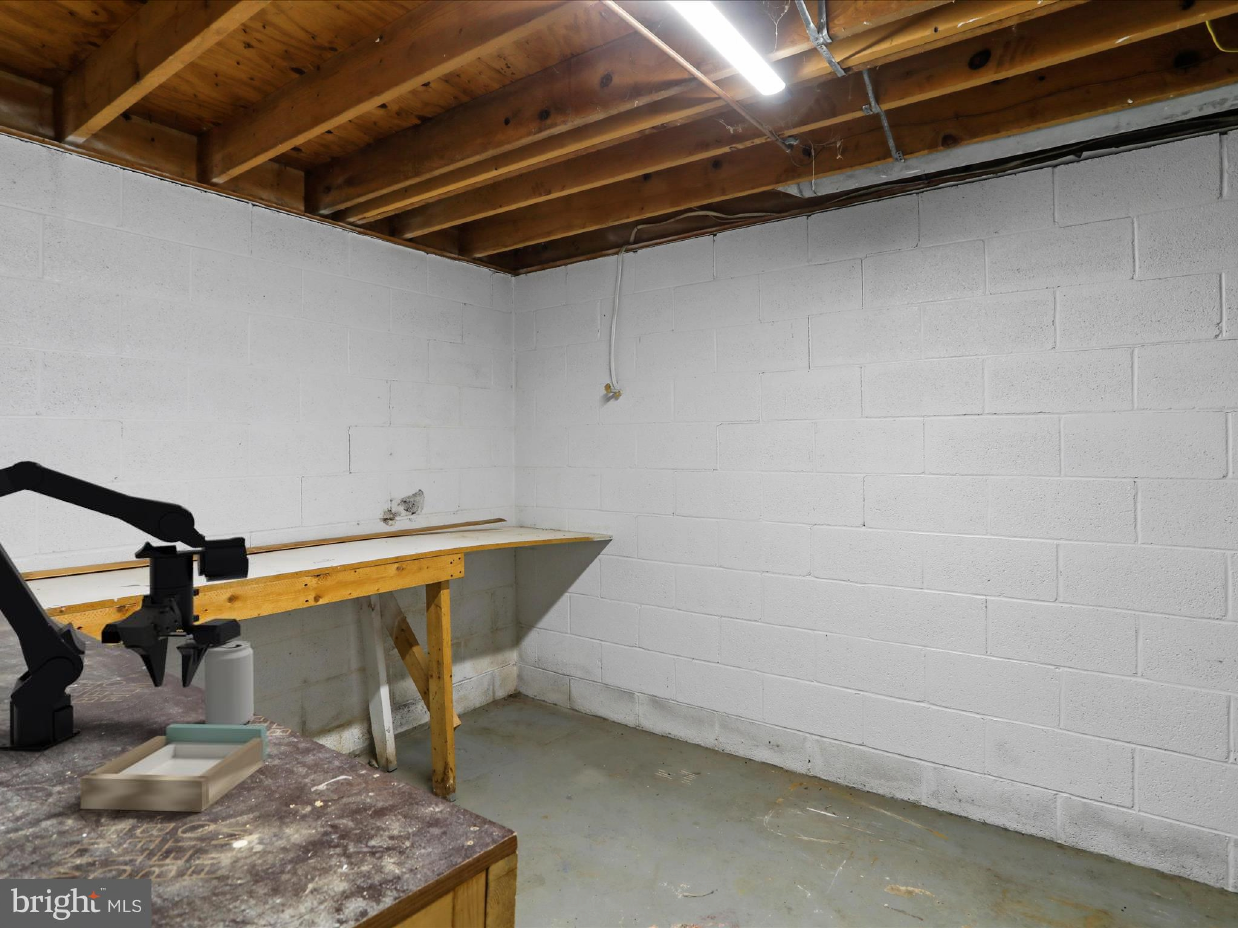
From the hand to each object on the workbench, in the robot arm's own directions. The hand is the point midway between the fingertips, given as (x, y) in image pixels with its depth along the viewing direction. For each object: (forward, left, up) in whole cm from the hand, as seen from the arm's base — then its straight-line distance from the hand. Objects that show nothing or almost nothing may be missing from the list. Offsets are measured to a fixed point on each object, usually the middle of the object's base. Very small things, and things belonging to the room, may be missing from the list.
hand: (172, 686), depth 107 cm
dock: (+16, -20, -5) cm, 26 cm away
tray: (+16, -20, -5) cm, 26 cm away
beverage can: (+10, -1, -5) cm, 11 cm away
